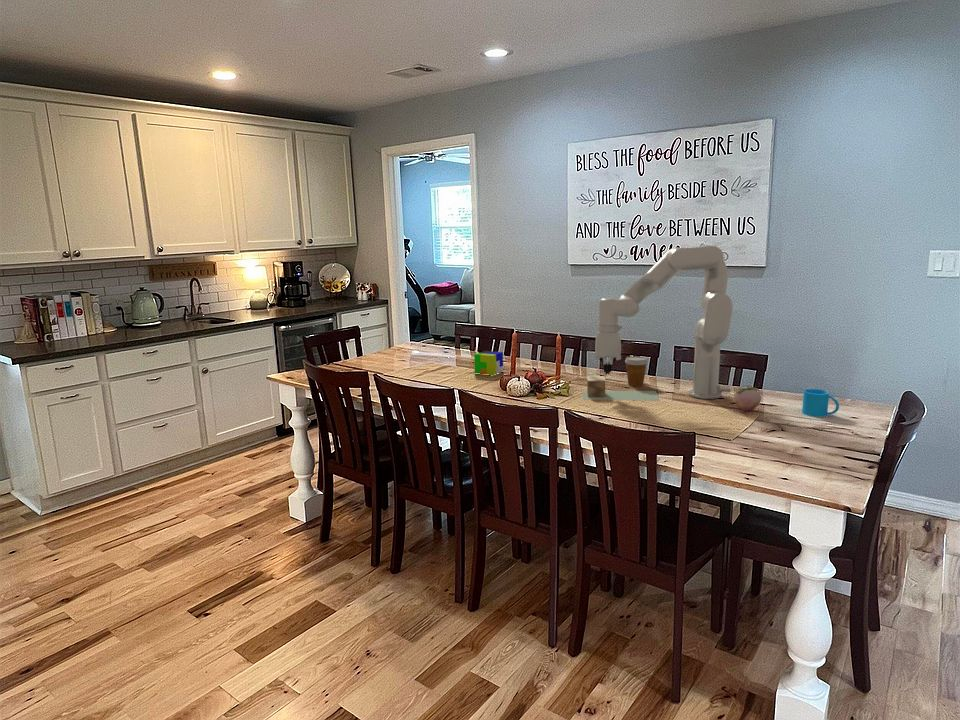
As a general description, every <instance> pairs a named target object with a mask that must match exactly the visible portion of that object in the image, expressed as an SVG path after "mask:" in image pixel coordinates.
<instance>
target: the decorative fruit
mask: <svg viewBox="0 0 960 720" xmlns="http://www.w3.org/2000/svg"><path fill="white" fill-rule="evenodd" d="M759 391H761V390H760V389H759V388H757V387H752V386H751V387H749V386H747V387H744V388H739V389H738V390H736V392H735V393H734V398H733V399H734V403H735V405H736V406H737V408H739V409H740V410H742V411H744V412H747V413H748V412H751V411H753V410H754V409H755V408H757V407H758V406H759V405H760V403H761V400H762V396H761V394H760V392H759Z"/></svg>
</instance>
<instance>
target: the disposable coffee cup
mask: <svg viewBox="0 0 960 720" xmlns="http://www.w3.org/2000/svg"><path fill="white" fill-rule="evenodd" d="M624 362H625V366H626V368H625V369H626V375H627V385H628V386H631V387H642V386H644V381H645V375H646V369H647V365H648V362H649V361H648V360H647V357H644V356H627V357H626V358H625V360H624Z"/></svg>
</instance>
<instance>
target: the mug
mask: <svg viewBox="0 0 960 720" xmlns="http://www.w3.org/2000/svg"><path fill="white" fill-rule="evenodd" d="M829 399H831V400H832V401H833V402H834V404H835V409H834V410H832V411H830V412H828V411H829V402H830V401H829ZM801 407H802V408H801V413H802V414H803V415H804V416H810V417H817V418H818V417H819V418H822V417H826V416H829V415H830V416H831V415H833V414H836V413H837V412H838V411H839V409H840V403H839V402H838V400H837V399H836V398H835V397H833V396H831V395H830V392H829V391H827V390H824V389H818V388H817V389H816V388H808V389H804V390H803V394H802V406H801Z"/></svg>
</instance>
